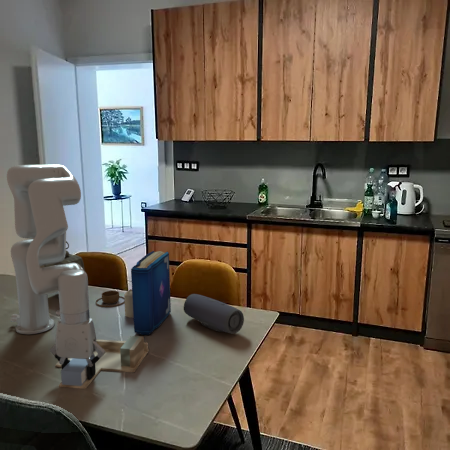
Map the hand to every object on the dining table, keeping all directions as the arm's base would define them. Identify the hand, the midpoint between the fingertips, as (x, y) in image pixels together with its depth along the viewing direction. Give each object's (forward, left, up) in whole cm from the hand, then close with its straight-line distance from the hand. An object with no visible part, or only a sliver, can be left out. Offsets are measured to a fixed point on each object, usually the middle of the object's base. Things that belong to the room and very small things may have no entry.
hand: (79, 376), depth 122 cm
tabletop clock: (-36, +61, -1) cm, 71 cm away
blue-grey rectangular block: (0, 0, 0) cm, 0 cm away
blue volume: (+9, +39, -1) cm, 40 cm away
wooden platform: (+2, +11, -1) cm, 11 cm away
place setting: (-10, +57, -2) cm, 58 cm away
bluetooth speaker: (+31, +40, -1) cm, 51 cm away
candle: (-1, +46, -1) cm, 46 cm away
